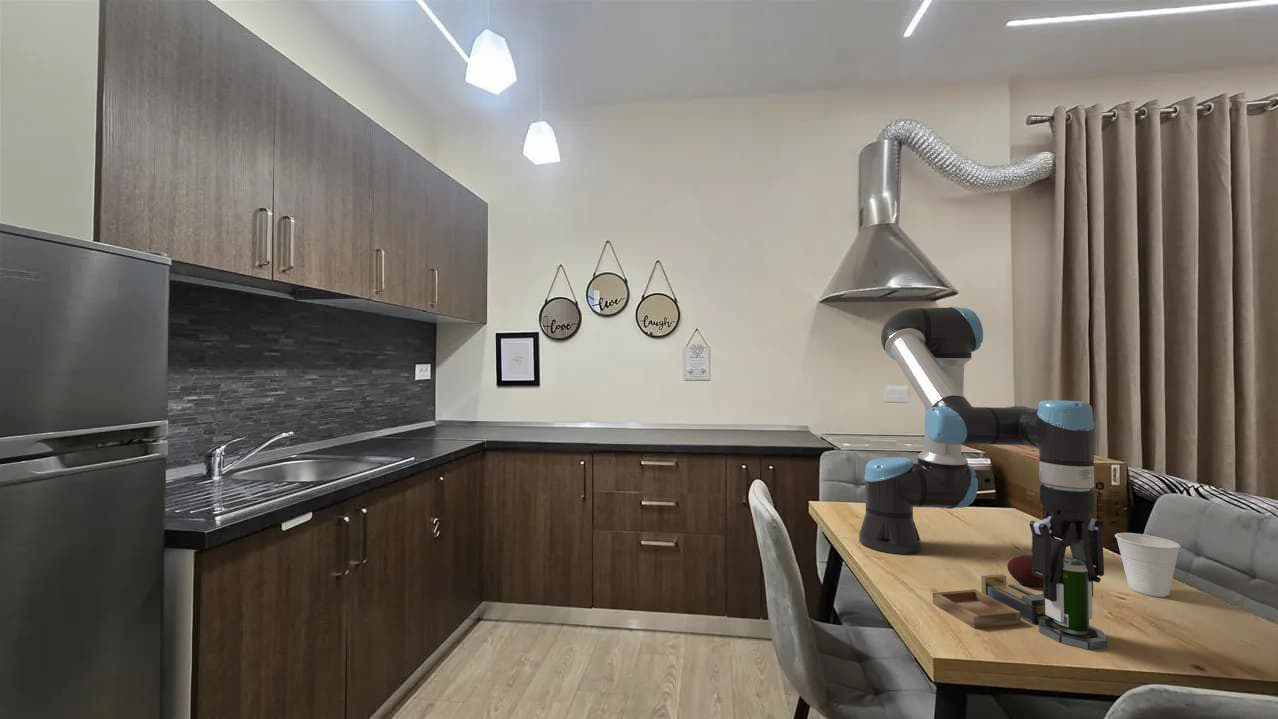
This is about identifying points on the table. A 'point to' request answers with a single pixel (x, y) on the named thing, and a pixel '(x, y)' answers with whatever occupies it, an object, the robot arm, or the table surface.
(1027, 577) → the potato
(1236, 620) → the table surface
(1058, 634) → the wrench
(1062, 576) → the beer can
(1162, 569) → the cup
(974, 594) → the brown wooden square frame
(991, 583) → the tan block
